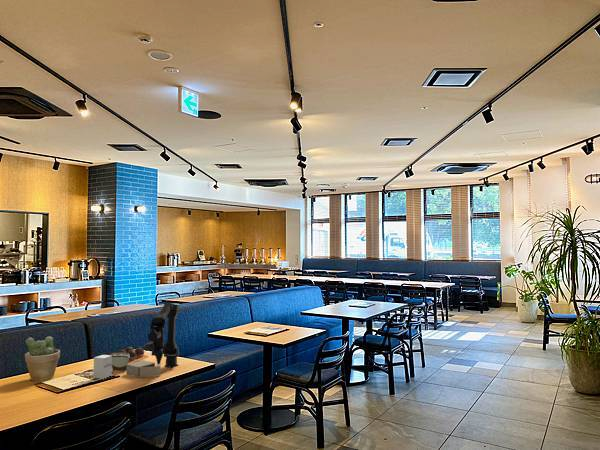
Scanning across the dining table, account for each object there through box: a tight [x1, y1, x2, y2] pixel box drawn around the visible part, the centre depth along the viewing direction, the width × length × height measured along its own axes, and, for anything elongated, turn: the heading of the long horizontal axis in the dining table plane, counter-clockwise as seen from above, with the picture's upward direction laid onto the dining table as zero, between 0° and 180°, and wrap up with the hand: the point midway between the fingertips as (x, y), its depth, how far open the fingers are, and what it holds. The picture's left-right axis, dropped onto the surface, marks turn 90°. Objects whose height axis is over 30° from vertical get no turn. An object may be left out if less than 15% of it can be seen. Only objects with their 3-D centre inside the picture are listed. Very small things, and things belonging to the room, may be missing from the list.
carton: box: [125, 359, 156, 378], centre depth 277 cm, size 12×12×6 cm
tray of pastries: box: [108, 346, 149, 364], centre depth 307 cm, size 28×17×8 cm, turn 165°
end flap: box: [138, 360, 162, 378], centre depth 270 cm, size 12×1×10 cm, turn 107°
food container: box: [111, 352, 130, 372], centre depth 287 cm, size 12×6×10 cm, turn 84°
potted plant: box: [24, 336, 61, 382], centre depth 268 cm, size 18×19×25 cm
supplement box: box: [92, 354, 113, 380], centre depth 269 cm, size 7×7×13 cm
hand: (158, 363), depth 271 cm, fingers closed
